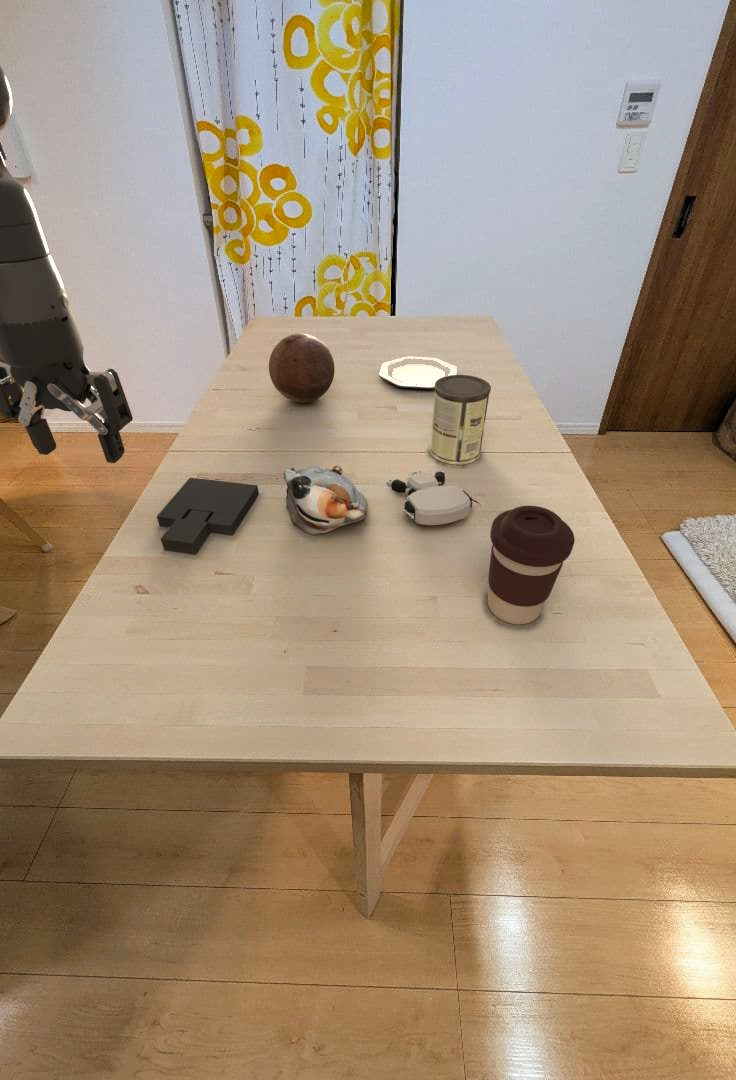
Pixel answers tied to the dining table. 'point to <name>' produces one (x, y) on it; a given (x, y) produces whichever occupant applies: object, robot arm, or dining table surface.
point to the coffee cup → (525, 561)
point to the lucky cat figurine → (322, 499)
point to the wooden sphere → (301, 367)
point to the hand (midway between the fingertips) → (82, 455)
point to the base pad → (211, 503)
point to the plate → (415, 373)
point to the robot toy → (432, 498)
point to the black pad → (187, 533)
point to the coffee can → (459, 418)
